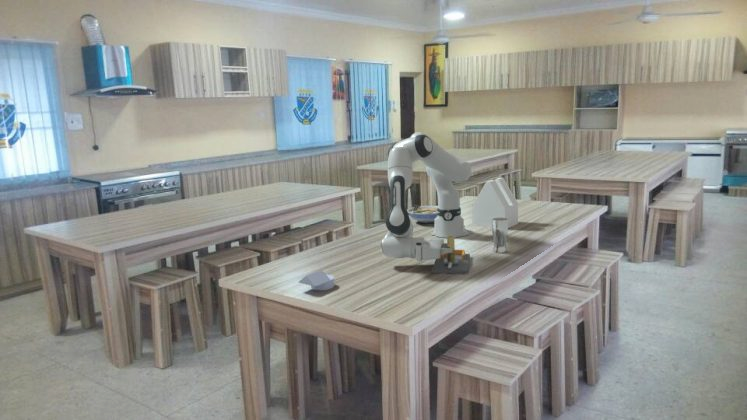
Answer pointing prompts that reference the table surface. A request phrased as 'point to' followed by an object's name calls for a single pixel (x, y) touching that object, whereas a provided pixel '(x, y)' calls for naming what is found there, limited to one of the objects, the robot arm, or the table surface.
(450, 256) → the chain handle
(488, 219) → the milk carton
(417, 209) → the ramen bowl
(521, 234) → the table surface
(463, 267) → the rail board
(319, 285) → the wedge on round base
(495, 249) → the beer glass
